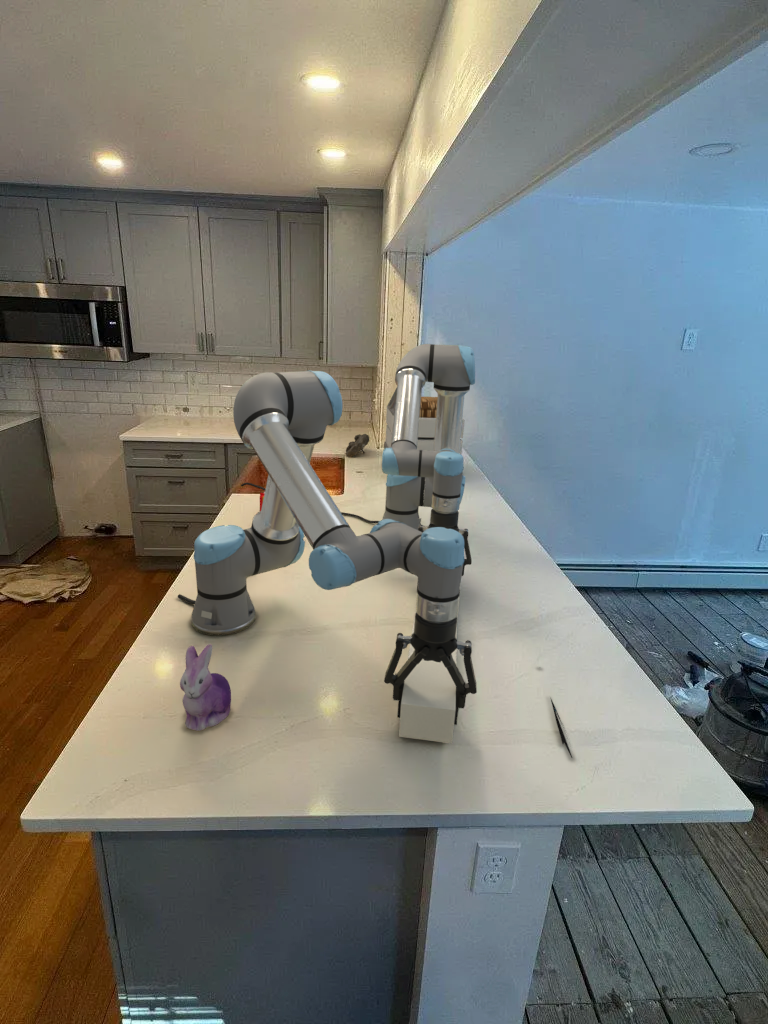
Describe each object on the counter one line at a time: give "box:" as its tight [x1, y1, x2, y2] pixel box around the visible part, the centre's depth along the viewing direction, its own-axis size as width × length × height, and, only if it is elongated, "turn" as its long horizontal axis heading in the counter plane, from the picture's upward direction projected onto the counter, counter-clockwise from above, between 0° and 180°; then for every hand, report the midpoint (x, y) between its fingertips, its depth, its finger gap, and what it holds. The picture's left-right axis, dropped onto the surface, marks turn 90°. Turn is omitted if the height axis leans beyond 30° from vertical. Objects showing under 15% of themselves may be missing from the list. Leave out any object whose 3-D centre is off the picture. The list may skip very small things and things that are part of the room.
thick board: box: [398, 609, 458, 744], centre depth 133 cm, size 67×10×7 cm, turn 173°
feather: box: [539, 666, 573, 758], centre depth 114 cm, size 2×28×2 cm
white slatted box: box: [383, 387, 465, 455], centre depth 268 cm, size 34×33×41 cm
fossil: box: [345, 433, 370, 458], centre depth 306 cm, size 22×10×15 cm
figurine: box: [179, 643, 232, 732], centre depth 106 cm, size 9×10×15 cm
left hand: (427, 716), depth 108 cm, fingers closed on thick board, 10 cm apart
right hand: (438, 583), depth 161 cm, fingers closed on thick board, 10 cm apart
